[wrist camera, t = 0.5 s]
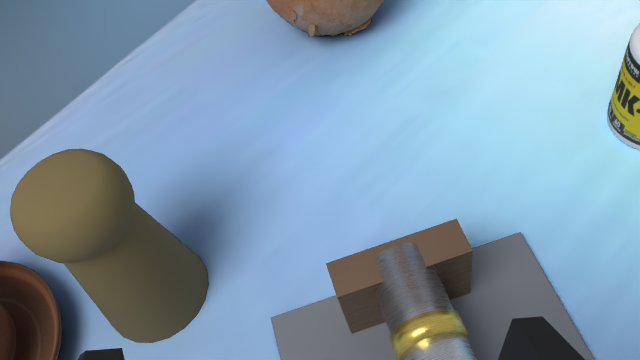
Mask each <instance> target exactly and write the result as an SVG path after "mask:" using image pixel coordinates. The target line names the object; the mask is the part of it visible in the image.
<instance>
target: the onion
mask: <svg viewBox="0 0 640 360" xmlns="http://www.w3.org/2000/svg"><path fill="white" fill-rule="evenodd" d="M266 1H267V2H268V4H269V5H270V6H271V7H272V9H273V10H274V11H275V12H276V13H277V14H278V15H279V16H280V17H282V18H283V19H284V20H285V21H287V22H288V23H290V24H291V25H293V26H295V27H297V28H299V29H301V30H302V31H305V32H308V35H309V36H310V35H311V36H312V37H313V35H317V36H324V35H330V36H333V35H334V36H336V35H337V34H340V33H343V32H345V33H344V35H345V36H346V35H350V36H351V35H352V33H355V32H356V31H358V30H362V29H364V28H366V27H367V26H368V24H369V23H370V22H371V21H372V20H371V18H372V16H373V15H374V13H375V12H376V11H377V9H378V8H379V7H380V5H381V4H382V3H383V1H384V0H266Z"/></svg>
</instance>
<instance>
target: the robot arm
mask: <svg viewBox="0 0 640 360" xmlns="http://www.w3.org/2000/svg"><path fill="white" fill-rule="evenodd" d="M78 360H124V355H123V351H122V348H117V349H104V350H91V351H85V352H84V353H83V354H81V355H80V357H79V359H78ZM498 360H585V359H584V358H583V357H582V356H581V355H580V354H579V353H578V352H577V351H576V350H575V349H574V348H573V347H572V346H571V345H570V344H569V343H568V342H567V341H566V340H565V339H564V338H563V337H562V336H561V335H560V334H559V332H558V331H557V330H556V329H555V328H554V327H553V326H552V325H551V324H550V323H549V322H548V321H547V320H546V319H545V318H544V317H543V316H540V317H527V318H513V319H512V321H511V324H510V326H509V329H508V332H507V335H506V338H505V341H504V343H503V346H502V349H501V352H500V355H499V358H498Z"/></svg>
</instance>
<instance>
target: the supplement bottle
mask: <svg viewBox="0 0 640 360" xmlns="http://www.w3.org/2000/svg"><path fill="white" fill-rule="evenodd" d="M607 120H608V124H609V127H610V129H611V131H612V132H613V133H614V134H615V135H616V137H617V138H619V139H620V140H621V141H623V142H624V143H626V144H627V145H629V146H631V147H633V148H636V149H638V150H640V24H639V25H638V26H637V27H636V28H635V29H634V31H633V33H632V35H631V37H630V40H629V43H628V46H627V49H626V52H625V56H624V59H623V62H622V65H621V68H620V72H619V75H618V79H617V82H616V85H615V88H614V91H613V94H612V97H611V100H610V103H609V107H608V112H607Z"/></svg>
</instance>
